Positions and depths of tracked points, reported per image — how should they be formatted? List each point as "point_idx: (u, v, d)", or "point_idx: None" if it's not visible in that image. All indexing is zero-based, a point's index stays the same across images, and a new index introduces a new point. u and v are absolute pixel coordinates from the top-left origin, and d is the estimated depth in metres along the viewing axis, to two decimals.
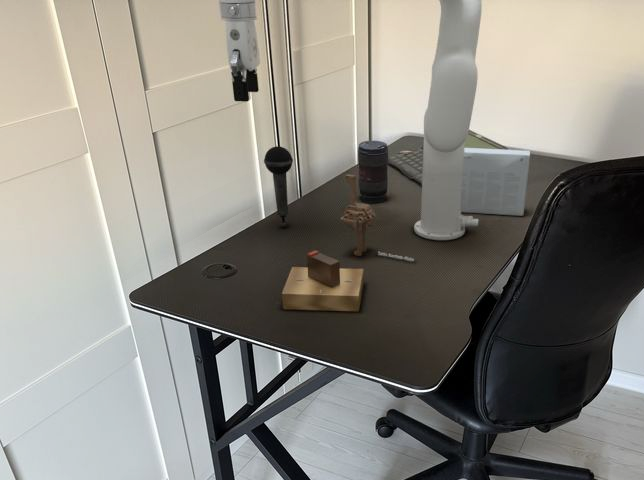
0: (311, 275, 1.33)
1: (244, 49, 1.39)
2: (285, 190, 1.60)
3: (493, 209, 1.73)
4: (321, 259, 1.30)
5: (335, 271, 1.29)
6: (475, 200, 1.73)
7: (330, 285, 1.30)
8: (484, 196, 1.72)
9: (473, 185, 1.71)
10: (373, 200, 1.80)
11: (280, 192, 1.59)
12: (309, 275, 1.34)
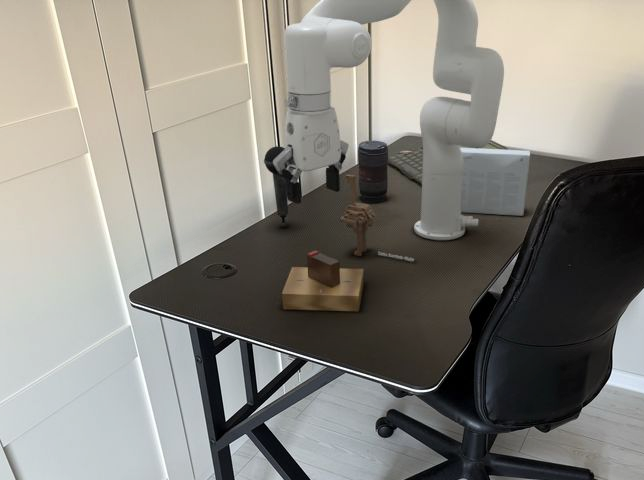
0: (311, 275, 1.33)
1: (296, 146, 1.16)
2: (285, 190, 1.60)
3: (493, 209, 1.73)
4: (321, 259, 1.30)
5: (335, 271, 1.29)
6: (475, 200, 1.73)
7: (330, 285, 1.30)
8: (484, 196, 1.72)
9: (473, 185, 1.71)
10: (373, 200, 1.80)
11: (280, 192, 1.59)
12: (309, 275, 1.34)
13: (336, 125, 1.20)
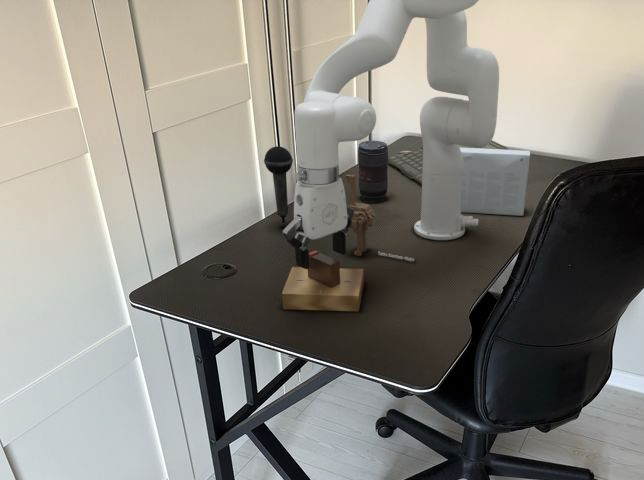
0: (311, 275, 1.33)
1: (305, 217, 1.21)
2: (285, 190, 1.60)
3: (493, 209, 1.73)
4: (321, 259, 1.30)
5: (335, 271, 1.29)
6: (475, 200, 1.73)
7: (330, 285, 1.30)
8: (484, 196, 1.72)
9: (473, 185, 1.71)
10: (373, 200, 1.80)
11: (280, 192, 1.59)
12: (309, 275, 1.34)
13: (343, 194, 1.24)
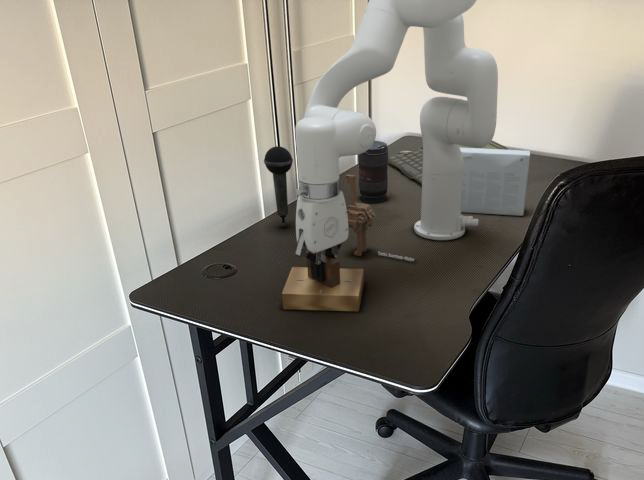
0: None
1: (307, 231, 1.22)
2: (285, 190, 1.60)
3: (493, 209, 1.73)
4: (321, 259, 1.30)
5: (335, 271, 1.29)
6: (475, 200, 1.73)
7: (330, 285, 1.30)
8: (484, 196, 1.72)
9: (473, 185, 1.71)
10: (373, 200, 1.80)
11: (280, 192, 1.59)
12: (309, 275, 1.34)
13: (344, 207, 1.26)
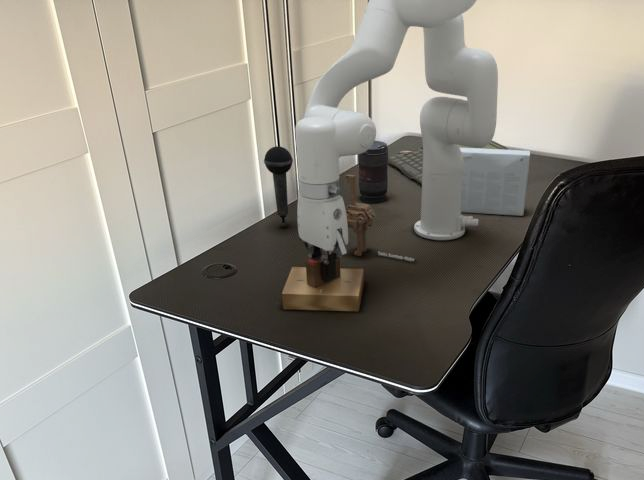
0: (319, 282, 1.30)
1: (345, 225, 1.25)
2: (285, 190, 1.60)
3: (493, 209, 1.73)
4: None
5: None
6: (475, 200, 1.73)
7: (339, 275, 1.34)
8: (484, 196, 1.72)
9: (473, 185, 1.71)
10: (373, 200, 1.80)
11: (280, 192, 1.59)
12: (316, 284, 1.30)
13: None
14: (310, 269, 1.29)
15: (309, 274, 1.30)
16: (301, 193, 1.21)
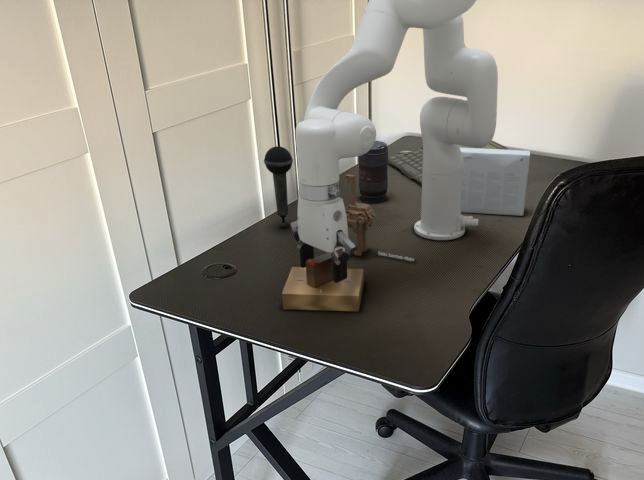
0: (319, 282, 1.30)
1: (345, 227, 1.25)
2: (285, 190, 1.60)
3: (493, 209, 1.73)
4: (325, 258, 1.30)
5: None
6: (475, 200, 1.73)
7: None
8: (484, 196, 1.72)
9: (473, 185, 1.71)
10: (373, 200, 1.80)
11: (280, 192, 1.59)
12: (316, 284, 1.30)
13: None
14: (310, 269, 1.29)
15: (309, 274, 1.30)
16: (301, 195, 1.21)
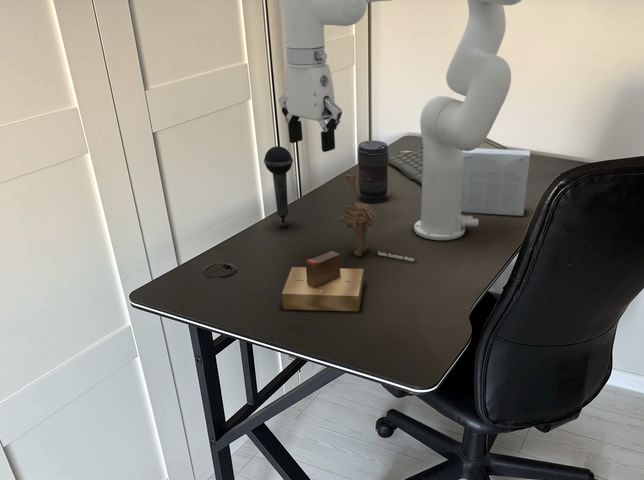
0: (319, 282, 1.30)
1: (332, 94, 1.29)
2: (285, 190, 1.60)
3: (493, 209, 1.73)
4: (325, 258, 1.30)
5: None
6: (475, 200, 1.73)
7: (339, 275, 1.34)
8: (484, 196, 1.72)
9: (473, 185, 1.71)
10: (373, 200, 1.80)
11: (280, 192, 1.59)
12: (316, 284, 1.30)
13: None
14: (310, 269, 1.29)
15: (309, 274, 1.30)
16: (288, 60, 1.25)
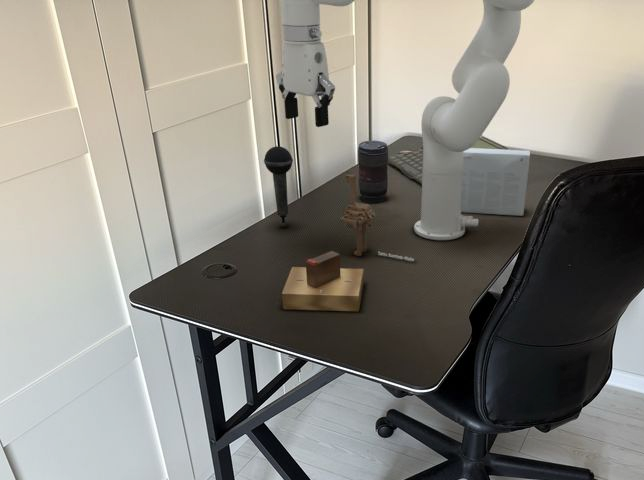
0: (319, 282, 1.30)
1: (326, 71, 1.34)
2: (285, 190, 1.60)
3: (493, 209, 1.73)
4: (325, 258, 1.30)
5: None
6: (475, 200, 1.73)
7: (339, 275, 1.34)
8: (484, 196, 1.72)
9: (473, 185, 1.71)
10: (373, 200, 1.80)
11: (280, 192, 1.59)
12: (316, 284, 1.30)
13: None
14: (310, 269, 1.29)
15: (309, 274, 1.30)
16: (285, 37, 1.31)
